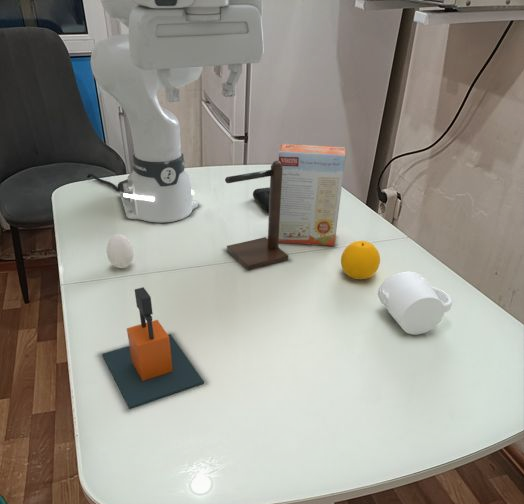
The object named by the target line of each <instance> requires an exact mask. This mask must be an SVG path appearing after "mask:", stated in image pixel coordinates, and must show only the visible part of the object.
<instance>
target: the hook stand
mask: <svg viewBox="0 0 524 504" xmlns="http://www.w3.org/2000/svg"><path fill="white" fill-rule="evenodd" d="M282 171H283V166H282V164H281V162H279V160H274V161H273V162H272V164H271V165H270V169H267V170H262V171H261V170H260V171H255V172H248V173H242V174H237V175H230V176H226V177H225V179H224V181H225V183H226V184H231V183H238V182H245V181H251V180H255V179H256V180H257V179H262V178H268V177H270V178H269V187H270V198H269V213H268V222H267V223H268V225H267V237H266V236H263V237H260V238H255V239H250V240H246V241H243V242H237V243H233V244H229V245H226V251H227V252H228V253H229V254H230V255H231V256H232V257H233V258H234V259H235V260H236V261H237V262H238V263H240V265H241V266H242V267H244V268H245V269H246V270H247V271H251V270H256V269H259V268H264V267H267V266H271V265H276V264H279V263H283V262H287V261H289V254H287V253H286V252H284V251H283V250H282V249H281V248H279V242H278V241H279V223H280V206H281V188H282Z"/></svg>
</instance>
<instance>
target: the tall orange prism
mask: <svg viewBox="0 0 524 504" xmlns="http://www.w3.org/2000/svg"><path fill="white" fill-rule="evenodd" d="M134 296H135V297H134V298H135V303H136V308H137V309H138V312H139V318H140V324H137V325H134V326H133V325H132V326H130V327H127V328H126V333H127V340H128V345H129V346H130V352H131V358H132V363H133V365H134V367H135V369H136V370H137V372H138V374H139V376H140V377H141V379H142V381H145V380H148V379H151V378H154V377H157V376H160V375H163V374H166V373H169V372H172V371H173V370H172V360H171V350H170V340H169V336H168V335H169V334H168V333H167V332H166V330H165V328H164V327H163V326H162V324H161V323H160V322H159V320H158V319H155V320H153V317H152V315H154V313H153V306H152V297H151V296H150V294H149V292H148V291H147V290H146V288H145V287H144V286H143V287H138V288H135V289H134Z"/></svg>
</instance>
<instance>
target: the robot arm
mask: <svg viewBox="0 0 524 504" xmlns="http://www.w3.org/2000/svg"><path fill="white" fill-rule="evenodd" d="M100 3H101V5H102V7H103V9H104V10H105V12H106V13H107V14H108V15H109V16H110V17H111V18H113V19H114V20H116V21H118V22H119V23H121V24H123V25H124V26H126V27H127V28H128V33H124V34H115V35H112V36H109V37H107V38H104V39H101V40H99V41H97V42H96V43H94V46H93V48H92V51H91V54H90V68H91V72H92V75H93V77H94V80H95V81H96V83H97V84H98V86H99V87H100V88H101V89H102V91H104V92H105V93H107V94H109V95H110V96H111V97H113V98H114V100H115V101H116V102H118V104H119V105H120V107H121V108H122V110H123V111H124V113H125V116H126V118H127V120H128V124H129V130H130V133H131V134H130V135H131V138H132V140H131V141H132V146H133V155H132V171H131V172H130V173H129V175H128V176H127V179H124V180H122V181H119V182H118V184H117V186H116V185H115V184H114V183H113V182H111V181H107V180H106V179H105V180H104V179H103V178H102V179H101V178H99V177H98V176H96V175H95V174H93V173H88V174H87V176H86V178H88V179H89V178H91V177H92V178H93V179H94V180H96V181H98V182H99V183H102V184H105V185H108V186H111V188H113V189H114V190H116V192H122V193H120V199H121V202H122V203H121V204H122V205H123V209H124V213H125V215H126V218H127V219H128V220H129V219H130V220H140V221H145V222H149V223H171V222H176V221H177V222H178V221H181V220H183V219H185V218H188V217H189V216H190V215H191V214H192V212H193V210H194V209H196V208H198V207H199V203H198V201H197V200H196V199H194V198H193V196H194V195H195V191H194V190H193V189H192V182H191V176H190V175H189V174H188V173H187V172H185V158H184V154H183V152H182V139H181V124H180V121H179V120H178V118H177V116H175V114H174V113H173V112H171V111H170V110H168V109H167V108H165V107H162V106H161V104H160V102H159V98H158V91H159V92H160V91H164V90H165V99H166V101H167V103H179V102H180V89H179V88H181V87H182V88H183V87H184V86H187V85H189V84H191V83H194V82H195V81H197V80H198V79H199V78H200V77H201V75H202V72H203V68H204V67H214V66H215V67H217V66H227V70H228V71H230V72H229V75H228V78H227V79H226V82H222V83H221V88H222V90H221V93H222V96H223V97H225V98H231V97H235V96H236V85H237V83H238V81H239V79H240V77H241V75H242V73H243V65H245V64H258V63H260V62H261V60H262V59H263V56H264V52H265V51H264V49H265V48H264V47H265V46H264V32H263V31H264V30H263V22H262V19H263V11H264V10H263V7H264V6H263V1H262V0H100Z"/></svg>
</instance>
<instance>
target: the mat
mask: <svg viewBox="0 0 524 504" xmlns="http://www.w3.org/2000/svg"><path fill="white" fill-rule="evenodd" d="M168 336H169V340H170V350H171V360H172V370H173V371H172V372H169V373H166V374H163V375H160V376H157V377H154V378H151V379H148V380H145V381H142V379H141V377H140V376H139V374H138V372H137V370H136V369H135V367H134V365H133V363H132V358H131V352H130V346H128V345H127V346H124V347H121V348H117V349H114V350H111V351H107V352H103V353H101V355H102V358H103V360H104V362H105V363H106V365H107V367H108V370H109V371H110V374H111V376H112V377H113V380H114V381H115V383H116V386H117V387H118V389H119V391H120V393H121V395H122V397H123V399H124V401H125V403H126V405H127V406H128V408H129V409H133V408H135V407H139V406H141V405H145V404H148V403H151V402H153V401H157V400H159V399H162V398H165V397H168V396H171V395H174V394H177V393H180V392H183V391H186V390H188V389H191V388H195V387H197V386H200V385H203V384H205V381H204V379H203V378H202V376H201V375H200V373H199V372H198V371H197V370H196V368H195V366H194V365H193V364H192V362H191V361H190V359H189V358H188V357H187V355H186V354H185V352H184V351H183V349H182V348H181V347H180V345H179V344H178V342H177V341H176V340H175V338H174V337H173V335H172V334H171V333H169V334H168Z"/></svg>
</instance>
